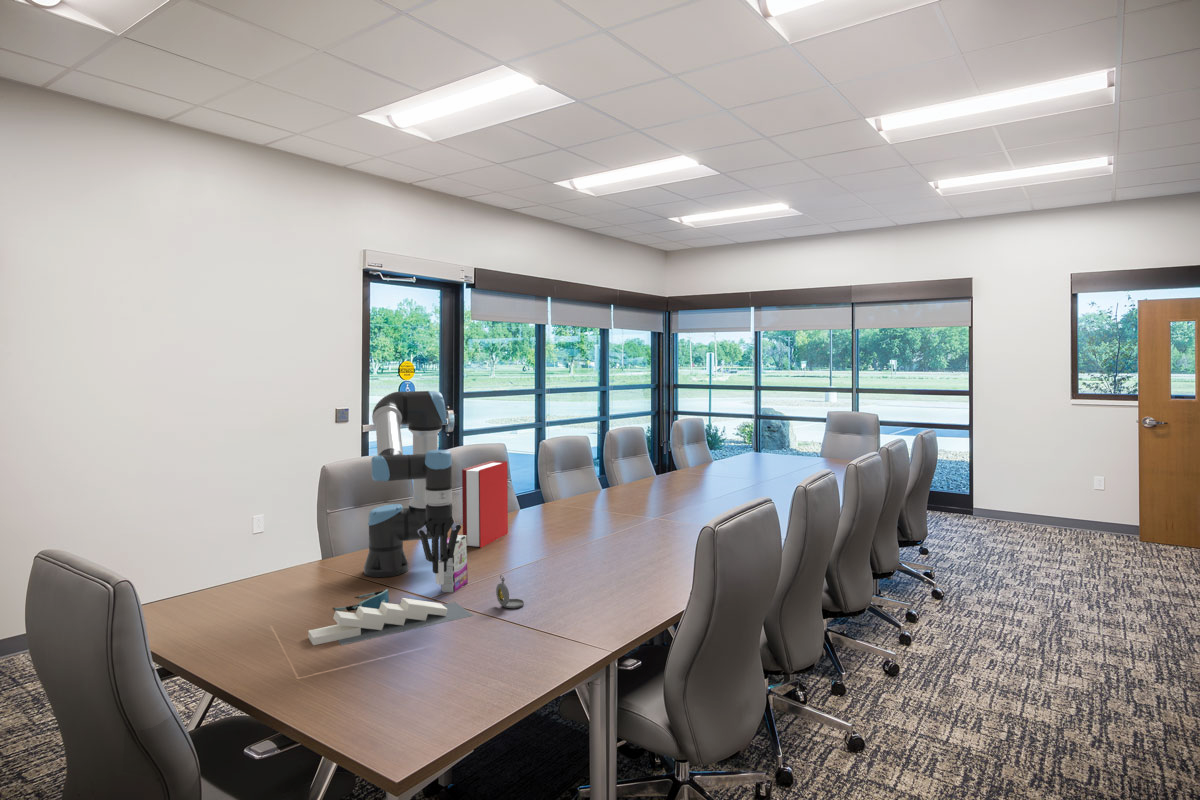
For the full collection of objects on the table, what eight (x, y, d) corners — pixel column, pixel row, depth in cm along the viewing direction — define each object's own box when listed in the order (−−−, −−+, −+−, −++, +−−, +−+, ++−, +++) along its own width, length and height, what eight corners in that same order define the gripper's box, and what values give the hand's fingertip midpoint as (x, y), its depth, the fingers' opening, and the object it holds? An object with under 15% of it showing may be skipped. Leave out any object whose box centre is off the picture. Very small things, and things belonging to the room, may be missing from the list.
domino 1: (354, 627, 184) (308, 637, 177) (354, 620, 183) (308, 630, 177) (360, 634, 179) (313, 645, 172) (360, 627, 178) (313, 637, 172)
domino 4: (418, 614, 194) (379, 609, 187) (420, 607, 194) (381, 602, 187) (425, 620, 189) (385, 615, 182) (427, 613, 189) (387, 608, 182)
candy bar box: (454, 582, 225) (453, 534, 224) (468, 583, 224) (467, 534, 223) (439, 592, 214) (439, 542, 213) (454, 593, 213) (453, 543, 212)
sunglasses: (369, 617, 193) (367, 600, 193) (328, 618, 198) (326, 601, 198) (399, 601, 207) (397, 585, 207) (360, 602, 211) (358, 587, 211)
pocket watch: (527, 603, 204) (527, 571, 204) (515, 612, 196) (515, 579, 196) (503, 600, 207) (503, 568, 207) (490, 609, 199) (490, 576, 199)
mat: (328, 629, 183) (328, 628, 183) (455, 603, 204) (455, 601, 204) (341, 646, 172) (341, 645, 172) (473, 616, 193) (473, 615, 193)
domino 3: (396, 619, 190) (355, 613, 184) (398, 612, 190) (358, 606, 184) (403, 625, 185) (361, 620, 179) (405, 618, 185) (364, 612, 179)
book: (480, 548, 268) (479, 469, 267) (462, 547, 270) (462, 469, 269) (509, 532, 294) (508, 461, 293) (492, 531, 296) (492, 460, 295)
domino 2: (375, 623, 187) (333, 618, 180) (377, 616, 187) (335, 610, 180) (381, 630, 182) (338, 624, 175) (384, 623, 182) (341, 617, 176)
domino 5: (438, 609, 197) (400, 604, 190) (440, 603, 197) (402, 597, 191) (445, 616, 192) (406, 610, 186) (447, 609, 193) (409, 603, 186)
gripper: (421, 508, 186) (422, 591, 187) (465, 503, 194) (465, 582, 195) (412, 503, 192) (413, 584, 193) (455, 499, 200) (455, 576, 201)
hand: (439, 583), depth 194 cm, fingers closed
